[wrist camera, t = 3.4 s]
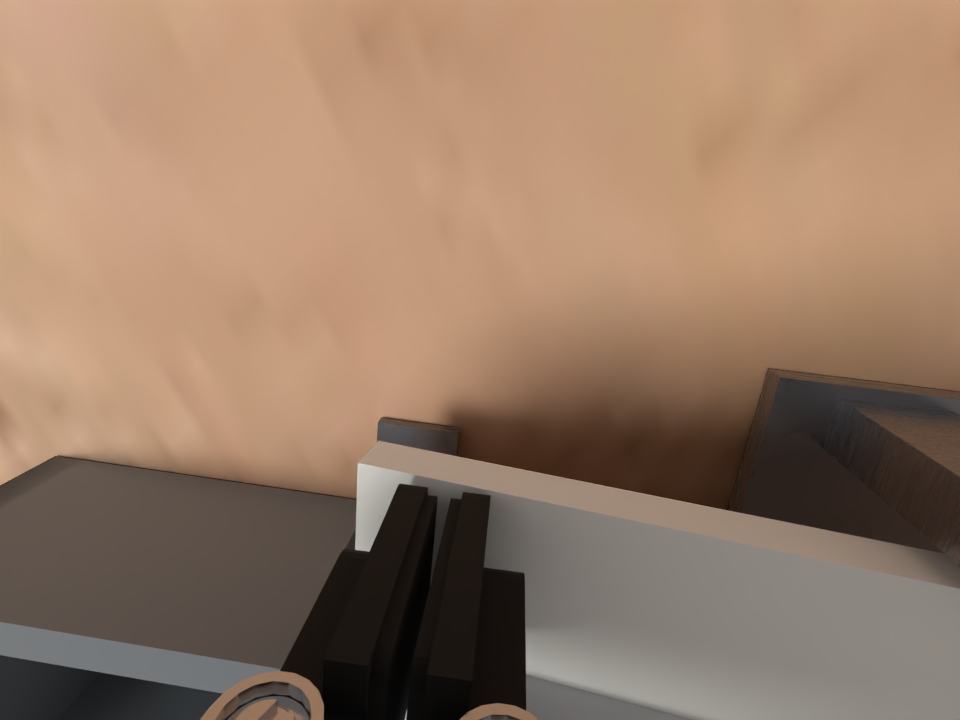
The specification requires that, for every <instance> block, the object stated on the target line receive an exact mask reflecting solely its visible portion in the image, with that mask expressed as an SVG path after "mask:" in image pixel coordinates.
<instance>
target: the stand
mask: <svg viewBox="0 0 960 720" xmlns="http://www.w3.org/2000/svg"><path fill="white" fill-rule="evenodd" d="M458 437H459V428H455V427H448V426H441V425H433V424H426V423H418V422H411V421H403V420H396V419H389V418H381V419H380V420H379V422H378V434H377V442H378V441H383V442H388V443H393V444H398V445H403V446H408V447H413V448H418V449H423V450H428V451H433V452H438V453H443V454H448V455H453V456H457V447H458ZM728 511H733V512H738V513H743V514H748V515H753V516H758V517H763V518H768V519H773V520H778V521H783V522H788V523H794V524H799V525H804V526H809V527H814V528H819V529H824V530H829V531H834V532H839V533H844V534H849V535H854V536H859V537H864V538H869V539H874V540H879V541H884V542H889V543H894V544H899V545H904V546H909V547H914V548H919V549H924V550H929V551H934V552H939V553H944V554H946V555H947V556H948V557H949V558H951V559H952V560H953V561H954V562H955V563H956V564H958V565H959V566H960V392H955V391H947V390H939V389H931V388H923V387H915V386H906V385H898V384H890V383H882V382H874V381H866V380H857V379H849V378H841V377H833V376H825V375H816V374H808V373H800V372H792V371H784V370H776V369H768V371H767V375H766V379H765V382H764V386H763V389H762V393H761V396H760V400H759V403H758V407H757V410H756V414H755V417H754V421H753V424H752V428H751V431H750V435H749V438H748V442H747V445H746V449H745V452H744V456H743V459H742V463H741V466H740V470H739V473H738V477H737V480H736V484H735V487H734V491H733V494H732V498H731V501H730V505H729V508H728Z"/></svg>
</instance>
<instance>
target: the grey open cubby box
mask: <svg viewBox="0 0 960 720" xmlns="http://www.w3.org/2000/svg"><path fill="white" fill-rule="evenodd" d="M356 504H357V500H355V499H348V498H341V497H334V496H328V495H321V494H314V493H307V492H300V491H293V490H286V489H279V488H272V487H266V486H259V485H252V484H245V483H238V482H231V481H224V480H217V479H210V478H204V477H197V476H190V475H183V474H176V473H169V472H162V471H155V470H148V469H142V468H135V467H128V466H121V465H114V464H107V463H100V462H93V461H87V460H80V459H73V458H66V457H59V456H55V457H53V458H51V459H49V460H47V461H45V462H43V463H42V464H40V465H38V466H36V467H34V468H32V469H30V470H29V471H27V472H25V473H23V474H21V475H19V476H17V477H15V478H14V479H12V480H10V481H8V482H6V483H4V484H2V485H1V486H0V720H200V719H201V718H202V716H203V715H204V714H205V712H206V711H207V710H208V709H209V707H210V706H211V705H212V704H213V703H214V702H215V701H216V700H217V699H218V698H219V697H220V696H221V695H222V694H223V693H224V692H225V691H227V690H228V689H230V688H231V687H233V686H234V685H236V684H237V683H239V682H240V681H242V680H244V679H247V678H250V677H252V676H255V675H257V674H260V673H267V672H274V671H280V670H281V668H282V666H283V664H284V662H285V660H286V658H287V656H288V655H289V653H290V651H291V649H292V647H293V645H294V643H295V641H296V639H297V637H298V635H299V633H300V631H301V629H302V627H303V625H304V623H305V621H306V619H307V617H308V615H309V613H310V612H311V610H312V608H313V606H314V604H315V602H316V600H317V598H318V596H319V594H320V592H321V590H322V588H323V586H324V584H325V582H326V580H327V578H328V576H329V574H330V572H331V570H332V568H333V567H334V565H335V563H336V561H337V559H338V557H339V555H340V554H341V552H342V551H343V550H344V549H345V548H346V549H353V550H355V536H356Z"/></svg>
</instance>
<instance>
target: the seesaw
mask: <svg viewBox="0 0 960 720" xmlns="http://www.w3.org/2000/svg"><path fill="white" fill-rule="evenodd" d="M399 484H407V485H415V486H422V487H428V495H432V496H437V512H436V524H435V535H434V546H433V558H432V569H431V580H432V576H433V572H434V567H435V563H436V559H437V555H438V550H439V546H440V542H441V538H442V533H443V529H444V525H445V521H446V516H447V512H448V508H449V504H450V500H451V498H455V499H462V494H463V492H468V493H476V494H484V495H491V499H490V509H489V519H488V529H487V539H486V548H485V558H484V567H485V568H492V569H500V570H507V571H514V572H522V573H524V575H525V633H526V711H527V712H530V713H532V714H533V715H534V716H535V717H536V718H537V719H539V720H960V566H959V565H958V564H956V563H955V562H954V561H953V560H952V559H951V558H949V557H948V556H947V555H946V554H944V553H939V552H934V551H929V550H924V549H919V548H914V547H909V546H904V545H899V544H894V543H889V542H884V541H879V540H874V539H869V538H864V537H859V536H854V535H849V534H844V533H839V532H834V531H829V530H824V529H819V528H814V527H809V526H804V525H799V524H794V523H788V522H783V521H778V520H773V519H768V518H763V517H758V516H753V515H748V514H743V513H738V512H733V511H728V510H723V509H718V508H713V507H708V506H703V505H698V504H693V503H688V502H683V501H678V500H673V499H668V498H663V497H658V496H653V495H648V494H643V493H638V492H633V491H628V490H623V489H618V488H613V487H608V486H603V485H598V484H593V483H588V482H583V481H578V480H573V479H568V478H563V477H558V476H553V475H548V474H543V473H538V472H533V471H528V470H523V469H518V468H513V467H508V466H503V465H498V464H493V463H488V462H483V461H478V460H473V459H468V458H463V457H458V456H453V455H448V454H443V453H438V452H433V451H428V450H423V449H418V448H413V447H408V446H403V445H398V444H393V443H388V442H383V441H378V442H377V443H376V444H375V445H374V446H373V447H372V448H371V449H370V450H369V451H368V452H367V454H366V455H365V456H364V457H363V458H362V459H361V460H360V461H359V462H358V471H357V504H356V536H355V550H360V551H368V552H370V549H371V547H372V545H373V542H374V540H375V538H376V535H377V533H378V531H379V528H380V526H381V524H382V522H383V519H384V517H385V515H386V512H387V510H388V508H389V505H390V503H391V501H392V498H393V496H394V494H395V491H396V489H397V487H398V485H399ZM431 580H430V584H431ZM406 718H407V711H406V716H405V720H406Z"/></svg>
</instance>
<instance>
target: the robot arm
mask: <svg viewBox="0 0 960 720" xmlns="http://www.w3.org/2000/svg"><path fill="white" fill-rule="evenodd" d="M490 499H491V495H484V494H476V493H468V492H463V494H462V499H455V498H451V500H450V504H449V508H448V512H447V516H446V521H445V525H444V529H443V533H442V538H441V542H440V546H439V550H438V555H437V559H436V563H435V567H434V572H433V576H432V580H431V569H432V558H433V546H434V535H435V524H436V512H437V496H432V495H428V487H422V486H415V485H407V484H399V485H398V487H397V489H396V491H395V494H394V496H393V498H392V501H391V503H390V505H389V508H388V510H387V512H386V515H385V517H384V519H383V522H382V524H381V526H380V528H379V531H378V533H377V535H376V538H375V540H374V542H373V545H372V547H371V549H370V552H368V551H360V550H353V549H346V548H345V549H344V550H343V551H342V552H341V554H340V555H339V557H338V559H337V561H336V563H335V565H334V567H333V568H332V570H331V572H330V574H329V576H328V578H327V580H326V582H325V584H324V586H323V588H322V590H321V592H320V594H319V596H318V598H317V600H316V602H315V604H314V606H313V608H312V610H311V612H310V613H309V615H308V617H307V619H306V621H305V623H304V625H303V627H302V629H301V631H300V633H299V635H298V637H297V639H296V641H295V643H294V645H293V647H292V649H291V651H290V653H289V655H288V656H287V658H286V660H285V662H284V664H283V666H282V668H281V670H280V671H274V672H267V673H260V674H257V675H255V676H252V677H250V678H247V679H244V680H242V681H240V682H239V683H237V684H236V685H234V686H233V687H231V688H230V689H228V690H227V691H225V692H224V693H223V694H222V695H221V696H220V697H219V698H218V699H217V700H216V701H215V702H214V703H213V704H212V705H211V706H210V707H209V709H208V710H207V711H206V712H205V714H204V715H203V716H202V718H201V719H200V720H405V716H406V711H407V718H406V720H539V719H537V718H536V717H535V716H534V715H533V714H532V713H530V712H527V711H526V633H525V575H524V573H522V572H514V571H507V570H500V569H492V568H485V567H484V558H485V548H486V539H487V529H488V519H489V509H490ZM430 580H431V584H430Z"/></svg>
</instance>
